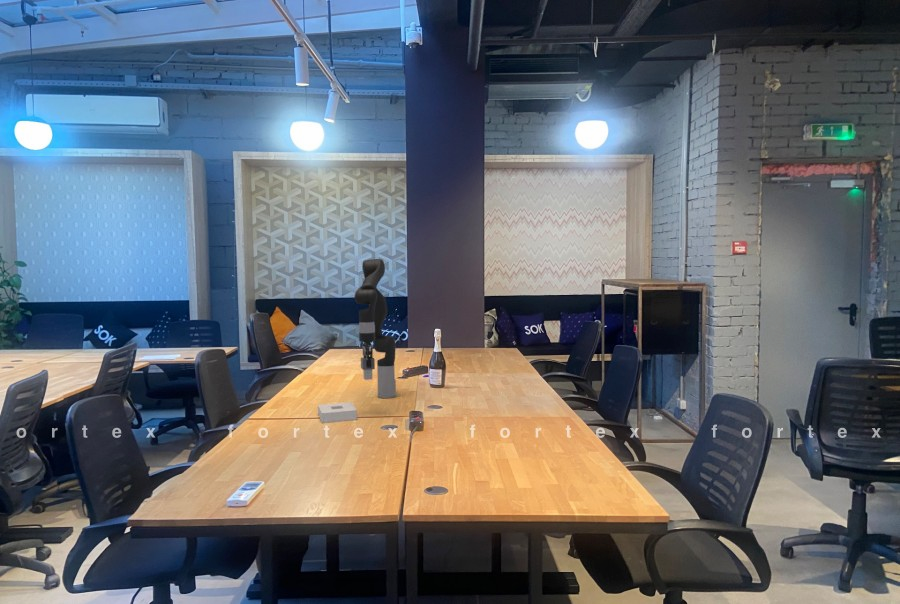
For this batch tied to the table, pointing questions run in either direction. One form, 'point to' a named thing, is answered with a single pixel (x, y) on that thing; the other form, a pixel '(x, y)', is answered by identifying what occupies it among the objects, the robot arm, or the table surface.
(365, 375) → the plug
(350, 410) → the socket block
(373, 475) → the table surface
